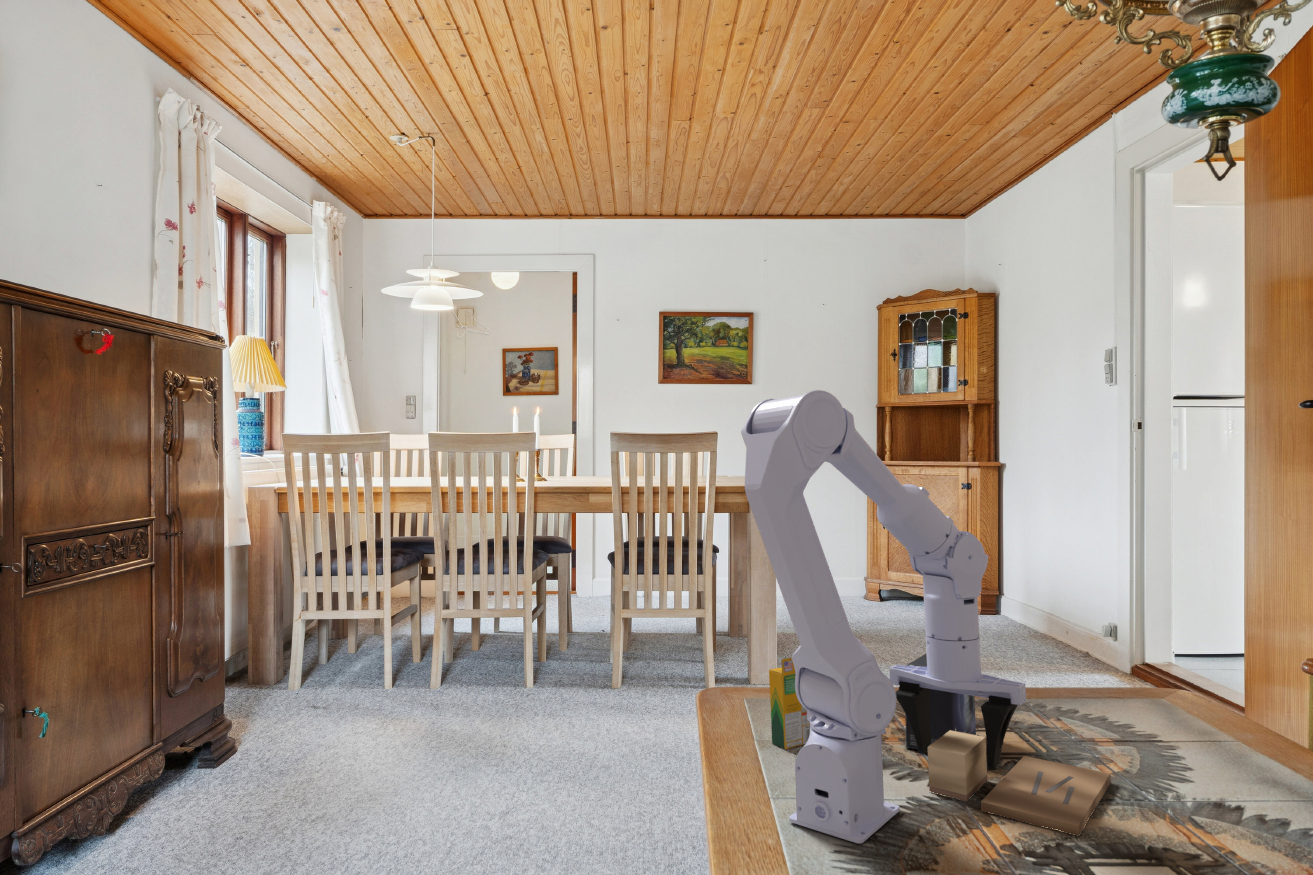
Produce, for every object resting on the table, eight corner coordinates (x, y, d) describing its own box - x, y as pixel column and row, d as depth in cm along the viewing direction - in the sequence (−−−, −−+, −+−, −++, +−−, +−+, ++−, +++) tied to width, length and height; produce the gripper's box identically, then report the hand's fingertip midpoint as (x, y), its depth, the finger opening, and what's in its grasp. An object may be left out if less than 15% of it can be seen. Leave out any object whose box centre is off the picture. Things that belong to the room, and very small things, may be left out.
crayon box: (812, 732, 103) (809, 647, 104) (827, 739, 101) (824, 651, 101) (770, 743, 99) (767, 654, 100) (785, 750, 97) (782, 659, 98)
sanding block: (966, 802, 81) (964, 754, 81) (929, 793, 83) (927, 747, 83) (987, 781, 86) (985, 736, 86) (951, 773, 88) (950, 730, 89)
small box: (956, 759, 92) (953, 672, 93) (904, 749, 96) (900, 666, 97) (979, 734, 101) (975, 655, 101) (930, 726, 105) (926, 649, 105)
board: (1078, 836, 72) (1078, 825, 72) (981, 811, 78) (981, 801, 78) (1110, 782, 84) (1110, 773, 85) (1024, 764, 90) (1024, 755, 90)
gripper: (1030, 636, 84) (1037, 761, 83) (904, 623, 93) (909, 734, 92) (1012, 649, 78) (1019, 782, 78) (879, 633, 88) (885, 751, 87)
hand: (958, 757), depth 85 cm, fingers open, 7 cm apart
